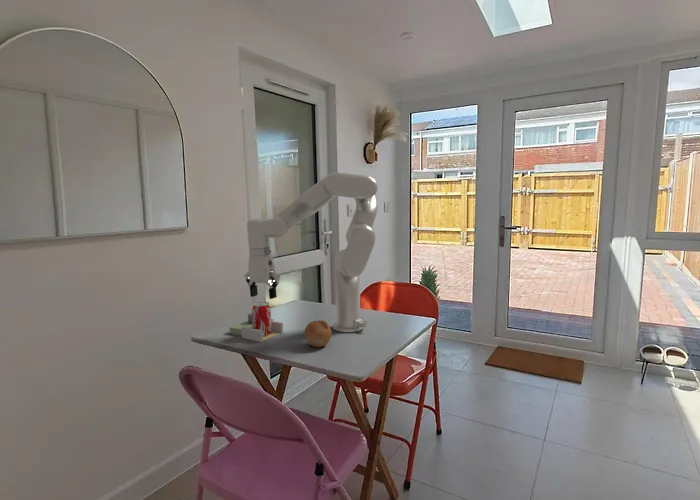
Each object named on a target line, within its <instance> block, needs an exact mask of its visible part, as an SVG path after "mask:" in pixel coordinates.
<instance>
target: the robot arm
mask: <svg viewBox="0 0 700 500" xmlns="http://www.w3.org/2000/svg"><path fill="white" fill-rule="evenodd" d="M378 188H379V187H378V182H377V181H376V180H375V178H373V177H372V176H370V175H364V174H353V173H347V172H346V173H344V172H331V173H329V174H327V175H326V176H324V177H323V178H321V179H320V180H319V181H318V182H317V183H315V184H314V185H313V186H311V187H309V188H308V189H307V190H306V191H305V192H303V193H302V194H301V195H299V196H298V197H297V198H296V199H295V200H294V201H293V202H292V203H290V204H289V205H288V206H286V207H285V208H284V209H282V210H281V211H280V212H279V213H277V214H276V215H275V216H274V217H272V218H269V219H265V218H254V219H249V220H248V221H247V222H246V229H247V230H246V231H247V241H248V251H249V256H248V267H247V268H248V270H247V272H246V273H244V279H245V281H246V284H247V285H248V287H249V292H250V293H249V294H250V297H251V298H252V297H256V296H258V286H257V283H259V284H267V286H268V287H269V288H268V297H269V300H273V299H275V298H277V297H278V296H277V287H278V285H279V283H280V279H281V276H280V275H278V273H277V272H276V267H275V260H274V258H273V256H272V254H271V253H272V250H271V248H270V238H271V239H274V238H275V239H282V238H284V237H286V236H287V235H288V233H289V231H290V230H291V229H293V227H294V226H295V225H297V224H298V223H300V222H301V221H303V220H304V219H306V218H309V217H311V216H313V215H314V214H316V213H317V212H319V211H320V210H321V209H322V208H324V207H325V206H326V205H327V204H328V203H330V202H331V201H332V200H334V199H335V198H336V197H337V196H338V197H344V198H353V199H354V200H355V209H354V213H353V215H352V218H351V222H350V224H349V225H348V228H347V231H346V233H345V240H346V242H347V246H346V248H345V249H341V250H340V251H338V252H337V254H335V257H334V274H335V275H334V276H335V303H336V304H335V306H336V309H335V310H336V316H335V317H336V322H335V323H333V324H332V329H333V330H335V331H337V332H339V333H355V332H359V331H362V330H364V328H368V327H369V321H368V320H364V319H363V316H362V315H361V279H360V276H361V275H362V274H363V273H364V271H365V270H366V267H367V265H368V262H369V260H370V257H371V254H372V252H373V249H374V248H375V247H374V246H375V243H376V233H375V231H374V229H373V227H374V223H375V220H376V217H377V213H378V200H377V197H376V194H377V192H378Z"/></svg>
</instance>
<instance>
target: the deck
mask: <svg viewBox="0 0 700 500" xmlns="http://www.w3.org/2000/svg"><path fill="white" fill-rule="evenodd" d="M271 327H272V328H271V333H270V334H269V335H267V336H263V331H262V330H257V329H253V325H252V312H250V313H248V314H247V320H246V321H244V322H241V323H238V324H235V325H231V326H229V334H233V335H236V336H241V339H245V340H251V341H255V342H258V343H259V342H260V343H263V342H264V341H266V340H268V339H271V338H273V337H275V336H277V335H280V334H283V333H284V322H281V321H276V320H274V319H272V318H271Z"/></svg>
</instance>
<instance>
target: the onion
mask: <svg viewBox="0 0 700 500" xmlns="http://www.w3.org/2000/svg"><path fill="white" fill-rule="evenodd" d="M303 335H304V339H305V340H306V342H307V343H308V344H309V345H310V346H312V347H313V348H321V347H325V346H326V345H328V344H329V342H330V340H331V338H332V329H331V327H330V326H329V325H328V323H327V322H326V321H325V320H313V321H310V322H309V323H307V325H306V326H305V328H304V334H303Z"/></svg>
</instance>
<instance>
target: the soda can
mask: <svg viewBox="0 0 700 500" xmlns="http://www.w3.org/2000/svg"><path fill="white" fill-rule="evenodd" d="M251 313H252V325H253V329H257V330H262V331H263V336H267V335H269V334H270V333H271V328H272V327H271V319H272V309H271V306H270V302H267V301H259V302H255V303H253V307H252V308H251Z"/></svg>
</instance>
